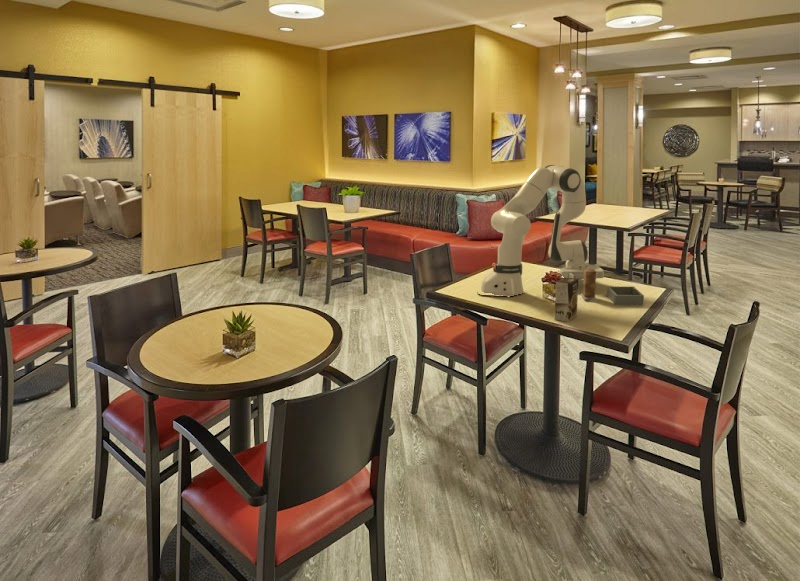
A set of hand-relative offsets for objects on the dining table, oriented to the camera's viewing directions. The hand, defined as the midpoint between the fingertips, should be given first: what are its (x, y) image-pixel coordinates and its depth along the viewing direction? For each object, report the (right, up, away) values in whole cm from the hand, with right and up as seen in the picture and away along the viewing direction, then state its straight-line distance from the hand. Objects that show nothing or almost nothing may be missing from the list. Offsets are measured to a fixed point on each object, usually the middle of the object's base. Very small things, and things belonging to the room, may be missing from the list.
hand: (584, 277), depth 264 cm
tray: (+14, -11, -13) cm, 22 cm away
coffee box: (-19, -18, -34) cm, 43 cm away
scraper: (-1, -10, -8) cm, 13 cm away
